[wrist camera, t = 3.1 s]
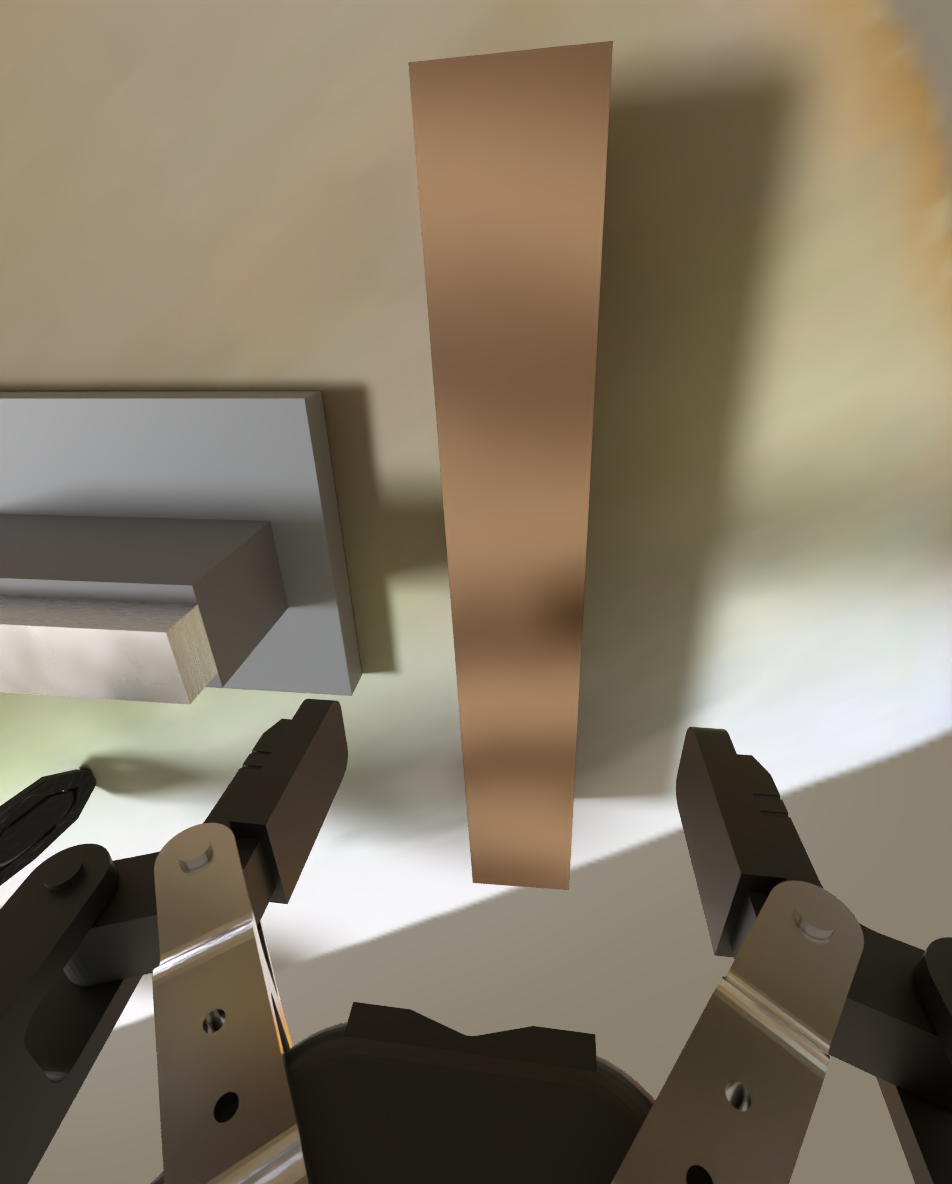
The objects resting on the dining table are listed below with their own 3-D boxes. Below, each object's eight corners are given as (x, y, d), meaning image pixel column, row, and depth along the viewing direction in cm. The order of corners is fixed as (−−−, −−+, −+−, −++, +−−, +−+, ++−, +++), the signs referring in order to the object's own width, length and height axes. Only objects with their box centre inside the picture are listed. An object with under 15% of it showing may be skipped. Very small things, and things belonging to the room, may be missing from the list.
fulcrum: (-91, 391, 21) (-416, 443, 14) (321, 391, 19) (188, 449, 12) (36, 656, 26) (-148, 787, 19) (362, 674, 25) (288, 825, 18)
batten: (447, 127, 15) (408, 62, 11) (593, 114, 15) (612, 41, 11) (484, 789, 28) (472, 882, 23) (565, 794, 27) (568, 889, 23)
